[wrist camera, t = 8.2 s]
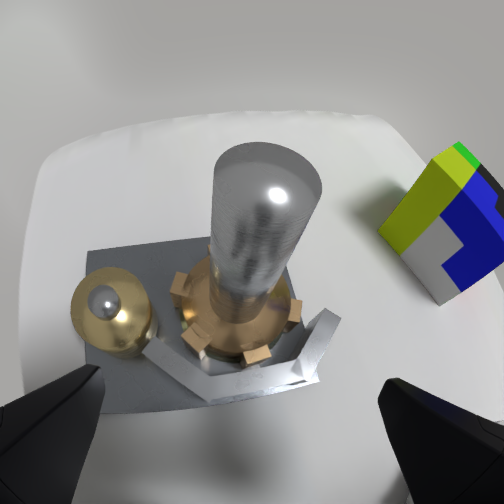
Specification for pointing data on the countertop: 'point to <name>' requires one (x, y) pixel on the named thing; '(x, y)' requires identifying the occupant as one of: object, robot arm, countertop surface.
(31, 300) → the countertop surface
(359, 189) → the countertop surface
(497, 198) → the puzzle toy
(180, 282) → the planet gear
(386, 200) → the countertop surface
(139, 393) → the carrier plate
